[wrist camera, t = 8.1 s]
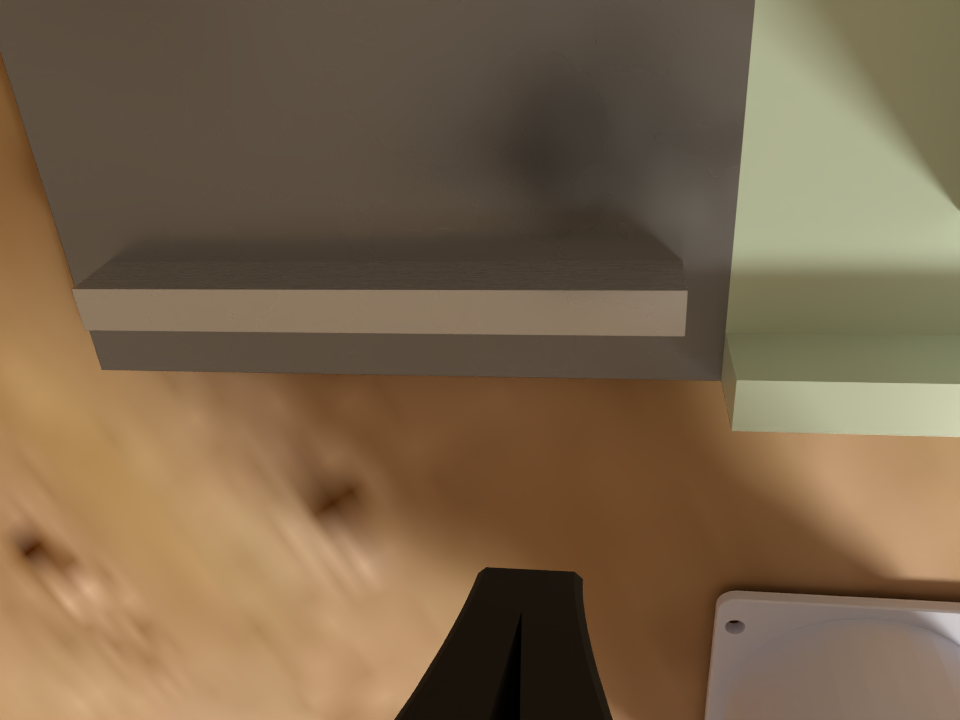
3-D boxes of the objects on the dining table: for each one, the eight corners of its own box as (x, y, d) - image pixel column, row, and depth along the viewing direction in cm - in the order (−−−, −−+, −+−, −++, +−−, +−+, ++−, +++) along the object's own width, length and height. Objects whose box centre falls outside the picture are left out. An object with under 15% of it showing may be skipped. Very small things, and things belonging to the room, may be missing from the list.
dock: (716, 358, 20) (729, 417, 18) (122, 350, 22) (68, 401, 20) (770, -276, 14) (797, -302, 12) (-44, -199, 16) (-145, -211, 14)
